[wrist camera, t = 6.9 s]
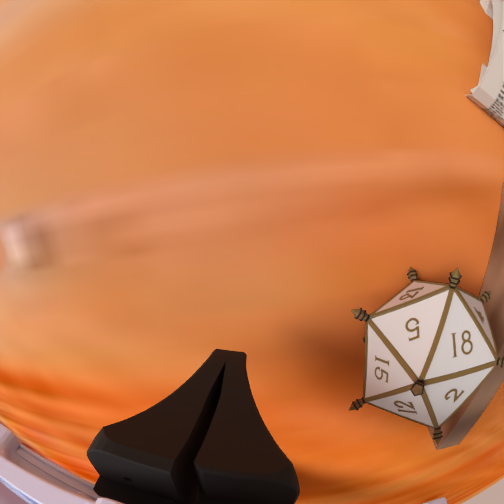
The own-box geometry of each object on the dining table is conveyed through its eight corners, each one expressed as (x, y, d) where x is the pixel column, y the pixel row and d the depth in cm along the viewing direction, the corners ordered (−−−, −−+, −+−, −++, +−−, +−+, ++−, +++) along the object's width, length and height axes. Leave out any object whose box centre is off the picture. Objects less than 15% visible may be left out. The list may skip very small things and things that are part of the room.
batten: (444, 411, 18) (458, 443, 14) (423, 415, 18) (436, 449, 14) (523, 189, 12) (563, 201, 8) (503, 182, 12) (545, 193, 8)
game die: (402, 265, 18) (533, 257, 9) (400, 378, 18) (517, 404, 9) (300, 275, 15) (496, 271, 6) (303, 421, 14) (448, 500, 5)
